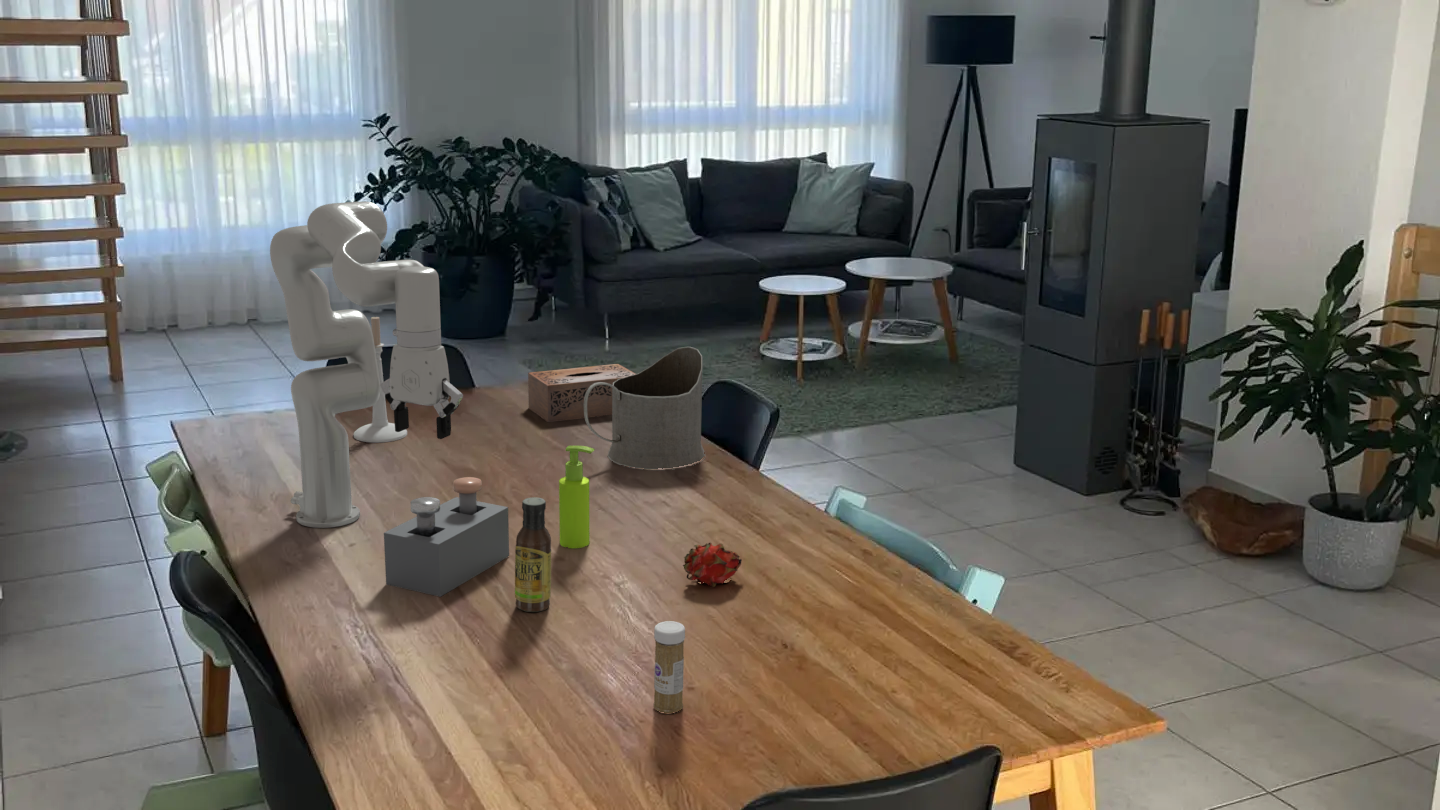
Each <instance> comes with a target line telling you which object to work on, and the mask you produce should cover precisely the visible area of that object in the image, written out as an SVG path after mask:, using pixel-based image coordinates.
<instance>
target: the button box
mask: <svg viewBox="0 0 1440 810" xmlns="http://www.w3.org/2000/svg"><path fill="white" fill-rule="evenodd" d="M509 538H510V532H509V507H508V506H503V505H498V504H494V503H489V502H484V501H483V502H482V501H479V500H477V513H475V514H473V515H468V514H463V513H460V506H459V497H458V496H455V497H453V498H452V499H449V500H447V501H444V502H443V503H440V511H438V512H437V513H435V535H433V536H431V537H425V536H420V535H417V516H415V517H413V518H410V519H409V520H407V521H405V522H403V523H401V524H398V525H396V526H394V527H393V528H391V529H388V530H386V531H384V532H383V543H384V546H383V547H384V565H385V566H384V568H385V569H384V570H385V584H386V585H388V586H392V587H395V588H401V589H406V590H409V591H414V592H419V593H423V594H426V595H432V596H435V597H436V596H437V597H442V596H444V595H446V594H447V593H449V592H451V591H453V590H454V589H456V588H457V587H460V586H461V585H463V584H464V583H466V582H468V581H469V580H471V579H473V578H474V577H476V576H478V575H480V574H481V573H483V572H484V571H486V570H488V569H490V568H492V567H493V566H495V565H497V564H498V563H501V562H502V561H503V560H505V559H507V558H509V557H510V539H509ZM508 556H509V557H508Z"/></svg>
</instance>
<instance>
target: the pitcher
mask: <svg viewBox="0 0 1440 810" xmlns="http://www.w3.org/2000/svg"><path fill="white" fill-rule="evenodd" d="M597 385H608V386H610V387H612V415H611V416H612V419H611V420H612V421H611V423H612V424H611V429H612V430H611V433H612V435H611V438H612V439H608V438H605V437H603V436H602V435H600V434H599V433H598V432H597V431H595V429H594V428H593V427H592V425H591V424H590V421H589V418H588V414H587V401H588V396H589V393H590V391H591V390H592V389H593V388H594V387H595V386H597ZM702 394H703V355H702V354H701V352H700V351H699V349H698V348H695V347H691V346H684V347H678V348H676V349H675V350H672V351H670V352H669V353H668V354H665V355H664V356H663V357H661V358H660V359H659V360H657V361H656V362H654V363H653V364H652V365H650V366H648V367H647V368H645V369H644V370H641V371H640V372H638V373H635V375H631V376H627V377H624V378H621V379H618V380H616V381H615V382H613V385H611V384H608V383H604V382H598V383H594V384H592V385H591V386H590V387H589V388H588V390H587V392H586V394H585V397H584V417H585V418H584V420H585V421H584V422H585V423H586V425H587V427H588V429H589V430H590V431H591V432H592V433H593V435H595V436H596V437H597V438H600V439H602V440H604V441H606V442H609V443H611V445H610V447H609V450H608V453H607V457H608V459H609V461H611V462H612V461H613V463H615V464H617V465H619V466H621V465H624V466H623V467H625V466H629V467H628V468H630V467H635V468H644V469H658V468H662V469H663V468H673V467H679V466H684V465H688V464H692V463H694V462H697V461H700V460H701V459H702V458H703V457H704V456H705V457H706V453H705V454H704V452H705V450H704V447H703V444H702V406H703V405H702V398H703V397H702V396H703V395H702ZM635 468H634V469H635Z"/></svg>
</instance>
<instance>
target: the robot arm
mask: <svg viewBox="0 0 1440 810" xmlns="http://www.w3.org/2000/svg"><path fill="white" fill-rule="evenodd" d="M384 213H385V212H383V210H382V208H380V207H379V206H378V205H377V204H375V203H374V202H371V201H348V202H336V203H335V202H333V203H326V204H323V205H320V206H318V207H316V208H315V209H313V210H312V212H311V213H310V214H309V216H308V218H307V222H306V225H297V226H291V227H287V228H284V229H280V230H279V231H277V232H276V233H274V235H273V236H272V237H271V238H272V239H271V241H270V246H269V254H270V255H269V256H270V261H271V262H270V263H271V266H272V269H273V272H274V274H275V276H276V278H277V282H278V283H279V285H280V287H281V291H282V293H283V296H284V297H283V298H284V303H285V311H286V317H287V323H288V329H289V335H290V342H291V346H292V350H293V352H294V354H295V356H296V357H297V359H298V360H300V361H303V362H319V361H328V360H335V359H339V358H340V359H341V358H346V360H347V363H344V364H337V365H328V366H323V367H315V368H311V369H307V370H304V371H302V372H299V373H297V375H296V376H295V377H294V378H293V379H292V381H291V385H290V394H291V398H292V399H291V400H292V402H293V403H292V404H293V407H294V411H295V415H296V422H297V429H298V440H299V441H298V442H299V453H300V454H299V455H300V457H299V458H300V470H301V471H300V472H301V485H302V491H298V490H297V491H295V492H294V494H293V496H292V497H291V498H290V503H291V504H293V505H298V506H299V510H298V511H297V513H296V514H295V515H296V516H295V519H296V522H297V523H298V524H300V525H302V526H305V527H308V528H314V529H317V528H318V529H327V528H337V527H338V528H339V527H341V526H346V525H349V524H352V523H354V522H355V521H357V520H358V519H360V517H361V510H360V508H359V507H358V506H356V505H354V504H352V487H351V484H352V483H351V468H350V467H351V465H350V463H351V462H350V446H349V445H350V444H349V435H348V432H347V430H346V428H345V426H344V425H342V423H341V422H340V421H339V420H338V419H337V418H336V415H337V414H342V413H343V412H351V411H357V410H361V409H367V408H370V407H373V405H374V404H376V402H377V401H378V399H379V396H380V387H381V389H382V391H383V392H384V394H385V400H386V401H387V402H388V403H389V406H390V407H389V408H390V409H391V410H392V411H393V415H394V416H393V419H394V422H393V424H395V431H396V432H400V431H403V430H405V429H406V430H407V429H409V428H410V419H409V417H410V416H409V407H408V406H407V405H406V404H408V403H409V404H414V405H420V406H426V407H427V406H428V407H431V406H433V408H434V410H436V412H437V413H436V414H438V416H437V417H436V420H435V421H436V423H435V424H436V437H437V439H439V440H442V439H445V438H448V437H450V436H451V433H452V418H451V415H452V414H454V412H455V411H456V410H457V409H458V408H459V405H460V404H461V401H462V400H463V398H464V394H463V393H462V392H461V391H460V390H459V389H457V388H456V387H455V386H454V385H453V384H452V383H450V373H449V371H450V370H449V364H448V358H447V355H446V354H447V353H446V349H445V346H443V345H442V330H441V306H440V305H441V303H440V302H441V301H440V300H441V299H440V279H439V278H440V277H439V273H438V272H437V270H436V269H434V268H433V267H430V266H429V267H428V266H424V265H423V264H422V263H421V262H419V261H418V260H416V259H415V260H414V259H399V260H398V259H396V260H387V261H386V260H385V261H378V262H377V260H378V259H379V257H380V255H381V250H382V243H383V242H384V240H385V239H386V236H387V233H388V222H387V221H388V220H387V217H386V215H385V214H384ZM325 268H331V271H332V276H333V280H334V283H335V286H336V288H337V289H338V290H339V292H340V293H342V295H344V297H345V298H347V299H348V300H349V301H350V302H352V303H353V304H355V305H357V306H360V307H366V308H369V307H376V306H385V305H393V304H395V319H396V320H395V321H396V322H395V323H396V328H393V330H392V335H393V336H394V337H396V344H394V345H393V347H392V351H391V356H390V357H391V358H390V365H389V366H390V369H389V378H388V379H386V380H385V381H384V380H383V382H382V383H381V384H380V380H379V373H378V366H377V360H376V353H375V346H374V339H373V334H372V328H371V324H370V322H369V320H368V318H367V316H366V315H365V313H363V312H362V311H360V310H357V309H352V308H351V309H340V310H333V309H332V307H331V302H330V301H331V300H330V293H329V289H328V287H327V285H326V283H325V282H324V281H323V280H322V278H320V277H319V276H318V274H317V273H315V271H313V269H325ZM450 398H451V399H450ZM449 399H450V401H449Z"/></svg>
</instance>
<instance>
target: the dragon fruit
mask: <svg viewBox="0 0 1440 810" xmlns="http://www.w3.org/2000/svg"><path fill="white" fill-rule="evenodd" d="M693 547H695V548H690V549H689V551H688V553H686V554H685V556H684V557H683V558H684V560H683V561H684V564H683V565H682V566H683V570H684V572H686V573H687V574H686V579H687V580H689V581H696V580H697V581H696V582H697V583H698V582H701V584H702V585H704V584H706V585H708V586H709V585H710V586H709V587H712V588H715V587H716V585H717V584H723V583H724V581H725V580H727V579H731V577H733V576H734V575H735V574H736V573H737V572H738V569H739V568H740V567H741V565H742V558H740V556H739V554H738V553H737V552H734V551H733V550H727V549H726V548H725V546H724V544H723V543H718V544H717V545H713V543H712V542H708V543H705V544H704V545H701V544H694V546H693ZM689 575H691V576H689ZM703 582H705V583H703Z"/></svg>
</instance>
